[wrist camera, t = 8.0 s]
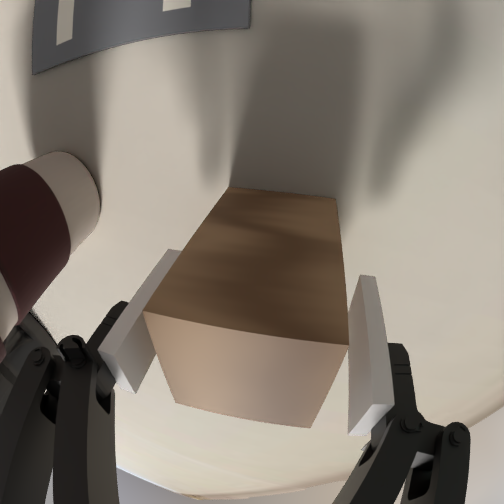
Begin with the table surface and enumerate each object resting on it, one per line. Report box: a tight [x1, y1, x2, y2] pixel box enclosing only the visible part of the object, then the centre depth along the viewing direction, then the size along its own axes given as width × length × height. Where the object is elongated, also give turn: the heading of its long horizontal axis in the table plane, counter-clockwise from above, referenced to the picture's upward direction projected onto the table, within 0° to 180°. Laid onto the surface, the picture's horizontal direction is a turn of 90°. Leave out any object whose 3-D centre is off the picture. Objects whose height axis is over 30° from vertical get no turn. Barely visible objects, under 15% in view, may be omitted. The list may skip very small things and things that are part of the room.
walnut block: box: [142, 187, 349, 428], centre depth 14 cm, size 6×6×10 cm
